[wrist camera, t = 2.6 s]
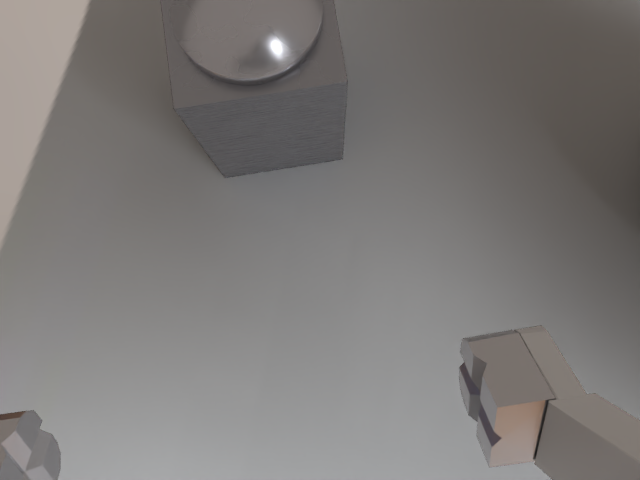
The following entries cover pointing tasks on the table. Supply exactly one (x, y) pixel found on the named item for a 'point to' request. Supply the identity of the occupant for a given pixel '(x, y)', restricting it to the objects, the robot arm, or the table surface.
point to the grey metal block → (258, 80)
